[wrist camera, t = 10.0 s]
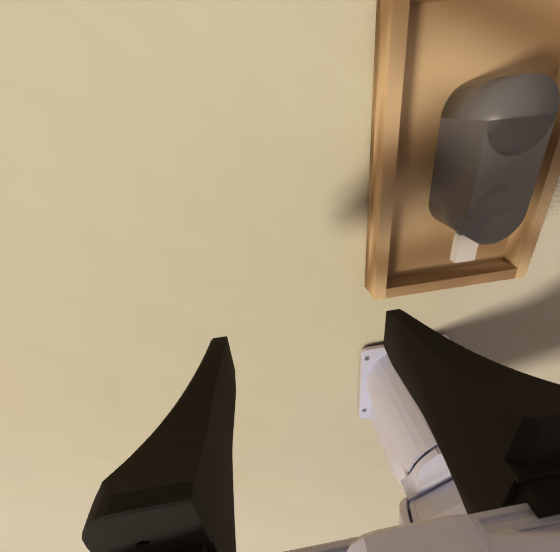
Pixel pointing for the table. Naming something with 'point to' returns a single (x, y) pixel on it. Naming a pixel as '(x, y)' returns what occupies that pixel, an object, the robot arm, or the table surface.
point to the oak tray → (425, 127)
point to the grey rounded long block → (490, 157)
